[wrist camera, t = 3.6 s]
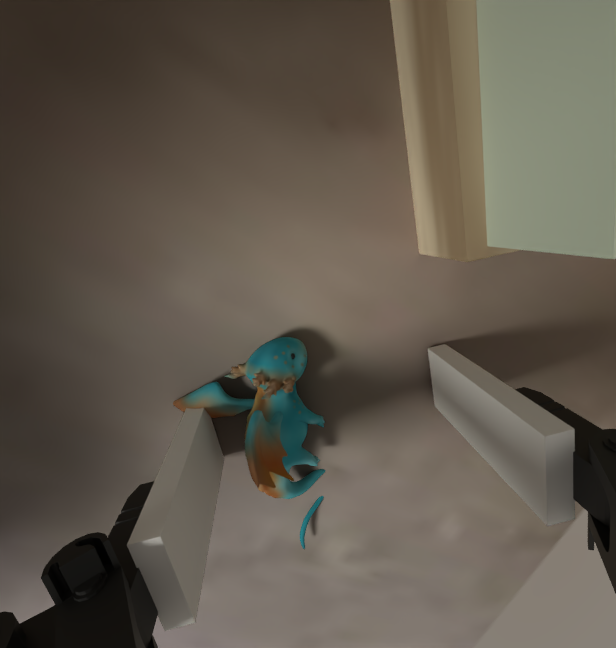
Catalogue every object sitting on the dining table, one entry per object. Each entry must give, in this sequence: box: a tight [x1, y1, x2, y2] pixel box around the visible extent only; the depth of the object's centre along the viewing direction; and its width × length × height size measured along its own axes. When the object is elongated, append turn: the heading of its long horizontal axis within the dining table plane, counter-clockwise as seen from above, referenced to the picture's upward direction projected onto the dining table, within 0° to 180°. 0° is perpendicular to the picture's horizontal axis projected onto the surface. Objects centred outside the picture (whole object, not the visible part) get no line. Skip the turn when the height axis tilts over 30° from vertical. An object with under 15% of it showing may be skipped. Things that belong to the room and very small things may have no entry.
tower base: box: [390, 0, 519, 262], centre depth 11 cm, size 12×12×4 cm
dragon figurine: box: [173, 337, 325, 549], centre depth 15 cm, size 6×7×8 cm
